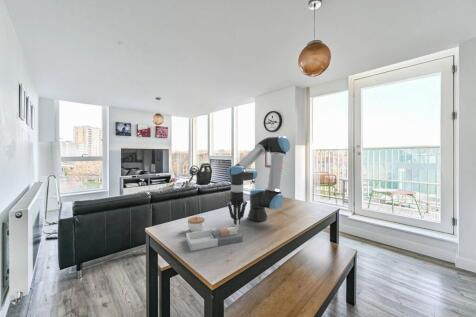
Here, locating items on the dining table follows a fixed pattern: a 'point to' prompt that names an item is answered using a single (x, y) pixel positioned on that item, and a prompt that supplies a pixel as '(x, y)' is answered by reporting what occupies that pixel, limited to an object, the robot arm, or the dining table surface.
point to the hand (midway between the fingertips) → (236, 229)
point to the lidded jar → (196, 223)
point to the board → (227, 238)
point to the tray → (201, 240)
